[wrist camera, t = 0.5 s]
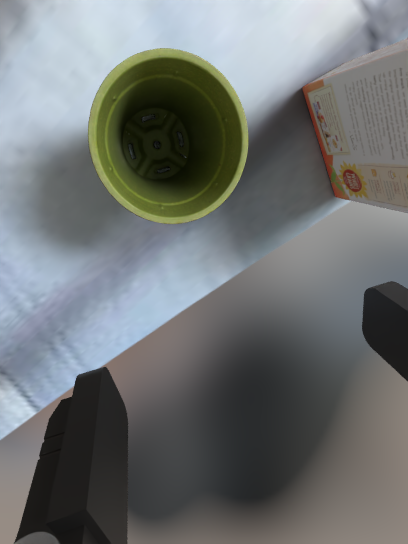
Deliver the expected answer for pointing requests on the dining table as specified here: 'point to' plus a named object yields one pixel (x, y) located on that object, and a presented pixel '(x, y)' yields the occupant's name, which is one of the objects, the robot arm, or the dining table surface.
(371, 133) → the cracker box
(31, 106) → the dining table surface
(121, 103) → the plant pot
